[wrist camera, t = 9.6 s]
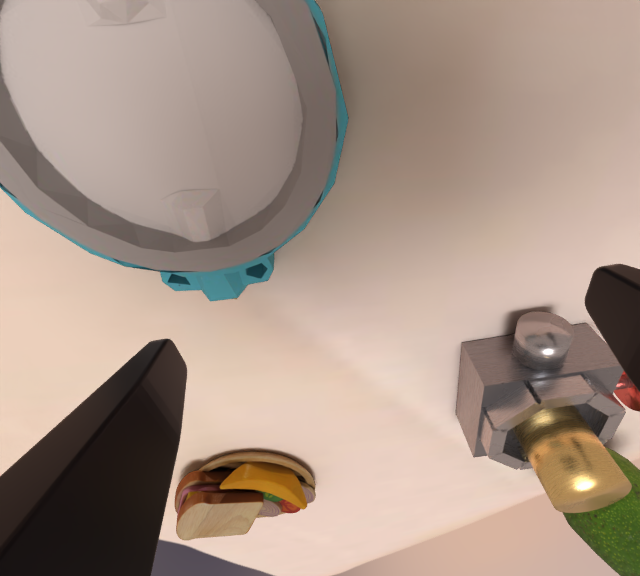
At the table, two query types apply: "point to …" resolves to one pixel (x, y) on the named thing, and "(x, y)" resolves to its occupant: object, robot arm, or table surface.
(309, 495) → the toy sandwich meal
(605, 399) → the valve
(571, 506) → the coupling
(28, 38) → the butterfly valve
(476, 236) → the table surface
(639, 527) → the avocado
